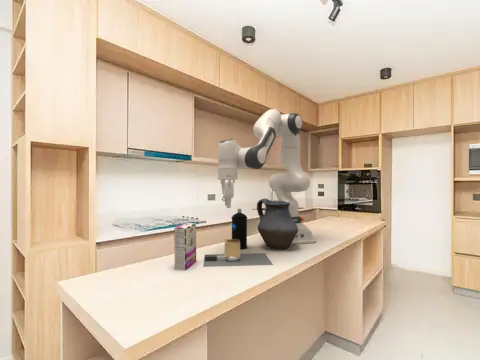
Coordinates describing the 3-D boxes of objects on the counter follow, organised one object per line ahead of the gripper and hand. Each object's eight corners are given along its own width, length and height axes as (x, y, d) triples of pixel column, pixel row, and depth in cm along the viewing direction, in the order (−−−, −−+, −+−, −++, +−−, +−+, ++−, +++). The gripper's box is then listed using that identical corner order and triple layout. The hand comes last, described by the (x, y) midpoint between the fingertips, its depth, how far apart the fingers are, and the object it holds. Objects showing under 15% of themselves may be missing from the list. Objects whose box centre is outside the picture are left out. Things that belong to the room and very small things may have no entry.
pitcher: (289, 255, 120) (289, 201, 120) (247, 249, 131) (248, 199, 131) (302, 245, 138) (302, 198, 138) (264, 241, 148) (265, 197, 149)
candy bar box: (185, 261, 110) (185, 222, 110) (196, 262, 109) (196, 223, 109) (173, 270, 99) (173, 227, 99) (185, 271, 98) (186, 227, 98)
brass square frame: (238, 252, 115) (238, 239, 115) (240, 256, 109) (240, 242, 109) (224, 252, 115) (224, 239, 115) (225, 257, 108) (225, 242, 108)
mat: (264, 254, 122) (265, 253, 122) (273, 265, 105) (273, 264, 105) (204, 255, 119) (204, 254, 119) (203, 267, 102) (203, 266, 102)
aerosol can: (247, 246, 136) (248, 208, 136) (246, 250, 128) (246, 209, 128) (232, 246, 137) (232, 207, 137) (230, 250, 128) (230, 209, 129)
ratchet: (239, 256, 116) (239, 245, 116) (241, 261, 109) (241, 249, 109) (205, 257, 114) (205, 245, 114) (204, 262, 107) (204, 250, 107)
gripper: (237, 175, 106) (237, 209, 106) (232, 175, 127) (232, 204, 127) (221, 175, 106) (221, 209, 106) (219, 175, 126) (219, 204, 126)
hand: (227, 206), depth 116 cm, fingers open, 8 cm apart
